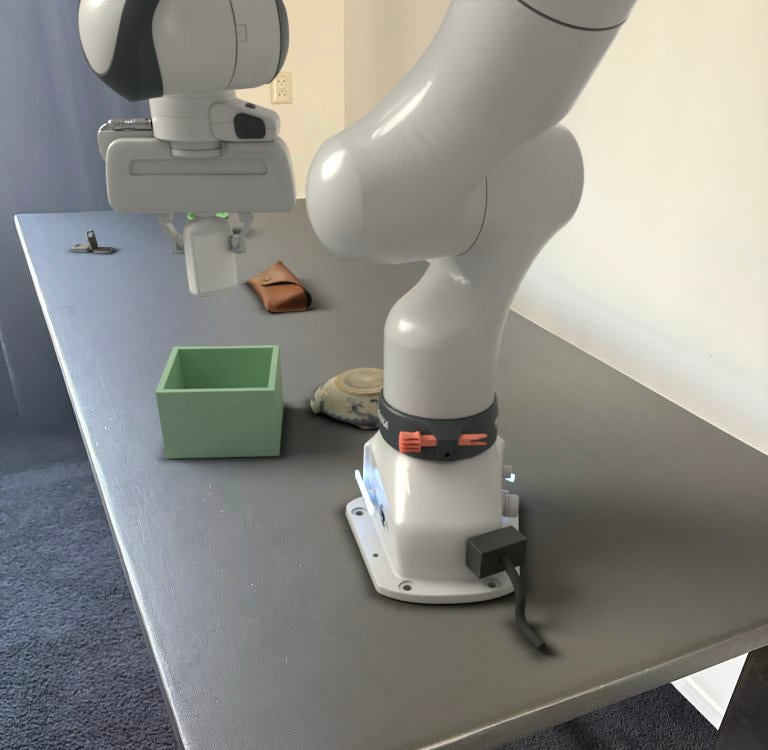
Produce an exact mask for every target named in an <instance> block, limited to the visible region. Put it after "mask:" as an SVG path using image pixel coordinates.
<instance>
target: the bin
mask: <svg viewBox="0 0 768 750" xmlns="http://www.w3.org/2000/svg"><path fill="white" fill-rule="evenodd" d="M280 349H281V346H280V345H279V344H274V345H273V344H272V345H271V344H269V345H268V344H267V345H208V346H207V345H205V346H204V345H200V346H173V347H172V350H171V352H170V355H169V356H168V358H167V362H166V365H165V367H164V369H163V373H162V375H161V377H160V380H159V382H158V385H157V387H156V389H155V392H154V393H155V400H156V407H157V413H158V418H159V424H160V429H161V430H160V431H161V435H162V441H163V442H162V443H163V448H164V453H165V458H166V459H167V460H168V459H170V460H171V459H172V460H173V459H204V458H207V459H211V458H214V459H215V458H251V457H252V458H253V457H254V458H255V457H279V456H280V452H281V440H282V439H281V438H282V427H283V417H284V393H283V391H284V390H283V378H282V375H283V374H282V362H281V350H280Z"/></svg>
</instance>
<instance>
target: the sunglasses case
mask: <svg viewBox="0 0 768 750" xmlns="http://www.w3.org/2000/svg"><path fill="white" fill-rule="evenodd" d="M245 284H246V285H247V286H249V287H250V289H251V290H253V292H254V294H255V295H256V296H257V297H258V298H259V300H260V302H261V303H262V305H263V307H264V309H265V311H266V312H270V313H293V312H304V311H307V310H308V309H310V308H311V307H312V305H313V298H312V295H311V293H310V291H308V289H307V288H306V287H305V286H304V284H303V283H302V282H301V281H300V279H299V278H297V276H296V275H295V274H294V273H293V272H292V271H291V270H290V269H289V268H288V267H287V266H286V265H285V264H284V263H283V262H282V261H281V260H280V259H278V260H277V261H276V262H274V264H273V265H272V266H270V267H268V268H267V269H265V270H264V271H262V272H260V273H258V274H257V275H254V276H253V277H251V278H250V279H248V280H246V281H245Z"/></svg>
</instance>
